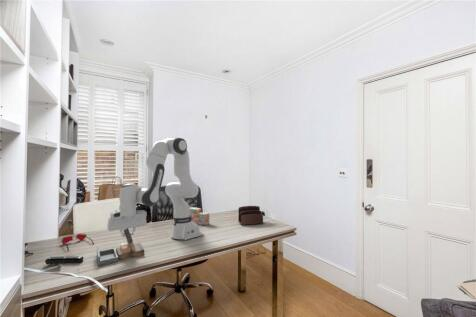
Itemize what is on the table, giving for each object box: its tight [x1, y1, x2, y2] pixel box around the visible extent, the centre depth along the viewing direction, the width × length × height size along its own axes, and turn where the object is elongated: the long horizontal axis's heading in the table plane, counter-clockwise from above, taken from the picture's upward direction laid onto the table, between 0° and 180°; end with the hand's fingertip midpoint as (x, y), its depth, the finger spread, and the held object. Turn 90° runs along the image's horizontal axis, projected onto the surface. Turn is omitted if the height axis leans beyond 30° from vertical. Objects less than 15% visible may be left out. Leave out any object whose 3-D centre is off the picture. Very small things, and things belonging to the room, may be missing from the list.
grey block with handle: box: [122, 228, 136, 251], centre depth 129 cm, size 2×14×11 cm, turn 35°
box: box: [96, 246, 119, 267], centre depth 123 cm, size 9×15×5 cm, turn 35°
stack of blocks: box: [189, 206, 210, 226], centre depth 196 cm, size 21×6×12 cm, turn 57°
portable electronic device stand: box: [44, 255, 84, 265], centre depth 119 cm, size 18×3×3 cm, turn 94°
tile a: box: [119, 241, 129, 250], centre depth 131 cm, size 4×4×2 cm
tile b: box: [122, 245, 131, 253], centre depth 126 cm, size 4×4×2 cm
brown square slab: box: [115, 242, 145, 261], centre depth 130 cm, size 13×12×3 cm
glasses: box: [61, 232, 95, 252], centre depth 144 cm, size 14×16×5 cm
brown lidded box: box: [237, 205, 264, 226], centre depth 197 cm, size 10×20×14 cm, turn 104°
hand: (127, 235), depth 129 cm, fingers closed on grey block with handle, 3 cm apart
